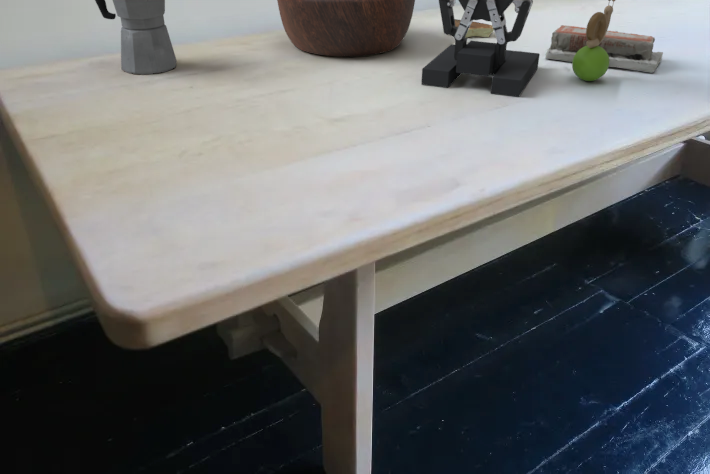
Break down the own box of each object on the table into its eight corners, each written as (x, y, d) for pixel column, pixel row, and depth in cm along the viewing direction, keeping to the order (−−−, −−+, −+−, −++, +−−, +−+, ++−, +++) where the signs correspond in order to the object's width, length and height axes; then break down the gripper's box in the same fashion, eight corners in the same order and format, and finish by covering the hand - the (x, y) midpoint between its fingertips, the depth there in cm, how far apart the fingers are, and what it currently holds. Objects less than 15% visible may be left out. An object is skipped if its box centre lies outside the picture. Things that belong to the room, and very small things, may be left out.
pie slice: (446, 25, 137) (447, 16, 136) (483, 24, 137) (483, 15, 136) (459, 38, 127) (460, 28, 126) (498, 37, 128) (499, 27, 127)
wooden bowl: (441, 48, 121) (445, -11, 115) (325, 70, 108) (323, 5, 103) (363, 22, 138) (363, -30, 133) (255, 39, 126) (251, -18, 121)
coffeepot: (198, 61, 113) (185, -53, 104) (173, 77, 105) (156, -45, 96) (117, 55, 116) (96, -56, 107) (86, 71, 108) (61, -49, 99)
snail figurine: (614, 78, 105) (630, -1, 99) (595, 87, 101) (611, 6, 95) (582, 71, 108) (596, -6, 102) (563, 80, 104) (576, 0, 98)
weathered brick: (547, 31, 112) (561, 19, 119) (543, 60, 114) (557, 47, 122) (661, 44, 105) (669, 31, 112) (654, 74, 107) (662, 59, 115)
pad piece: (500, 62, 105) (502, 43, 103) (488, 76, 98) (490, 56, 97) (469, 59, 106) (470, 40, 105) (455, 72, 100) (457, 52, 99)
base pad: (537, 68, 110) (539, 53, 109) (518, 97, 97) (521, 80, 96) (450, 58, 115) (451, 44, 114) (421, 84, 102) (422, 68, 101)
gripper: (433, -54, 93) (426, 66, 102) (536, -49, 88) (520, 77, 97) (448, -60, 99) (440, 54, 108) (546, -55, 94) (530, 64, 103)
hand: (478, 64), depth 102 cm, fingers closed on pad piece, 5 cm apart
